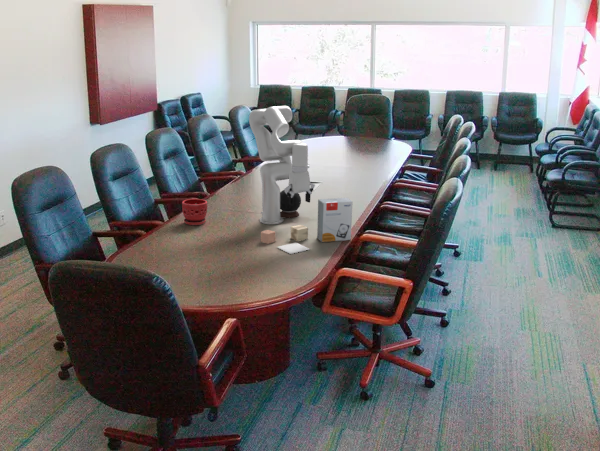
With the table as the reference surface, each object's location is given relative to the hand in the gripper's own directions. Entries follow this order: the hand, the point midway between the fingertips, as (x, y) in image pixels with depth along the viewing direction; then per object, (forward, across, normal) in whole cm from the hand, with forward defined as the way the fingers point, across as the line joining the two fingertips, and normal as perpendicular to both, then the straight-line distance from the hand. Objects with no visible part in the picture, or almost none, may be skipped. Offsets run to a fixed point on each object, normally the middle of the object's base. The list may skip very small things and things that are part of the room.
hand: (299, 203), depth 319 cm
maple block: (+18, 0, 0) cm, 18 cm away
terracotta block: (+18, +15, -5) cm, 24 cm away
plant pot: (+18, +31, -52) cm, 63 cm away
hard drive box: (+18, -14, +10) cm, 25 cm away
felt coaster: (+18, +11, +11) cm, 24 cm away
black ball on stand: (+18, -18, -36) cm, 44 cm away
